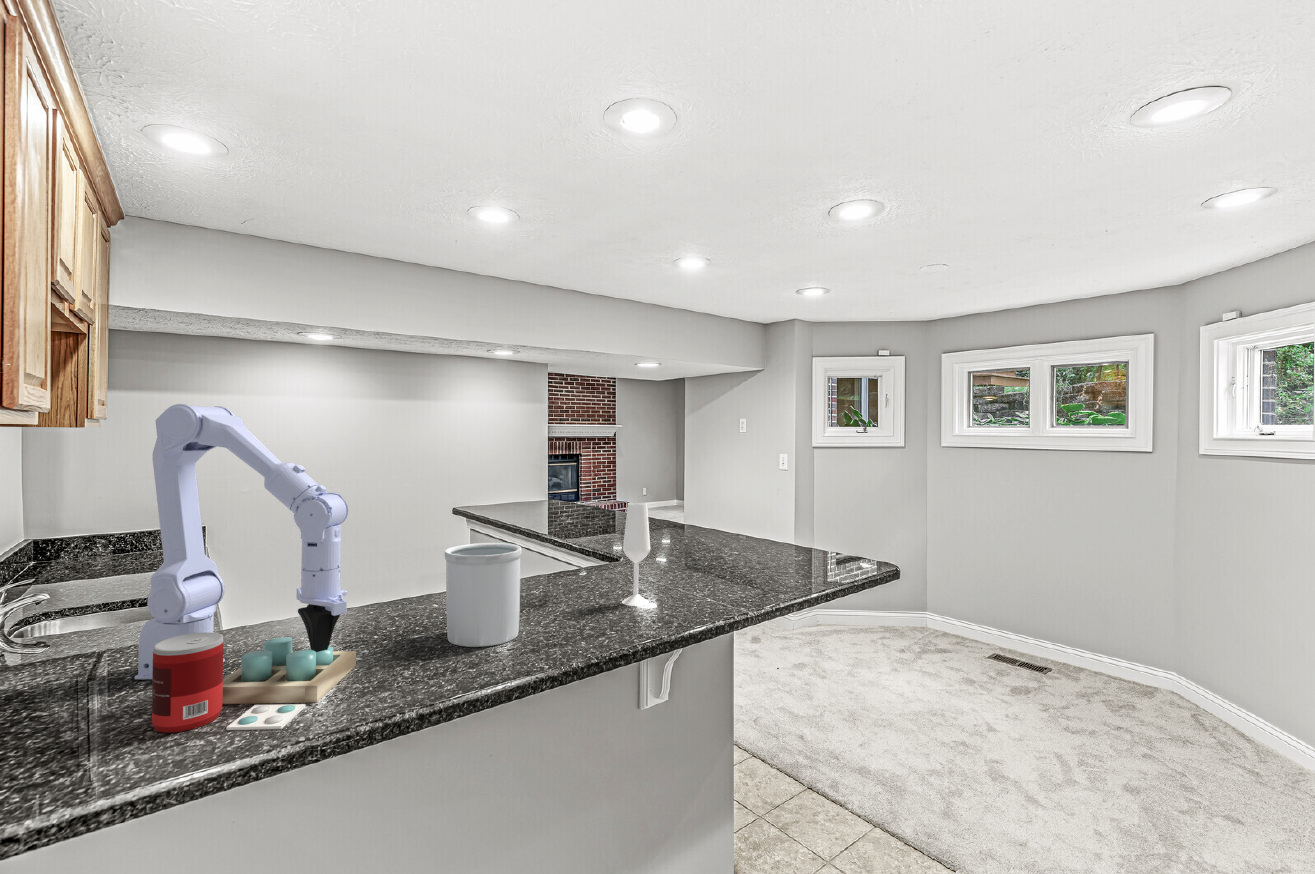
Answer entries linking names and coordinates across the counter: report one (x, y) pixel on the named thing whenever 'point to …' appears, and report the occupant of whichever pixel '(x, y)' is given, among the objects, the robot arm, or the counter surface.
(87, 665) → the counter surface
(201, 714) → the canned food
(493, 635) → the utensil holder
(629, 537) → the champagne flute
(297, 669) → the button
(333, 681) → the wooden compartment tray
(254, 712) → the tile
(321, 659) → the button
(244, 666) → the button
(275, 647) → the button
